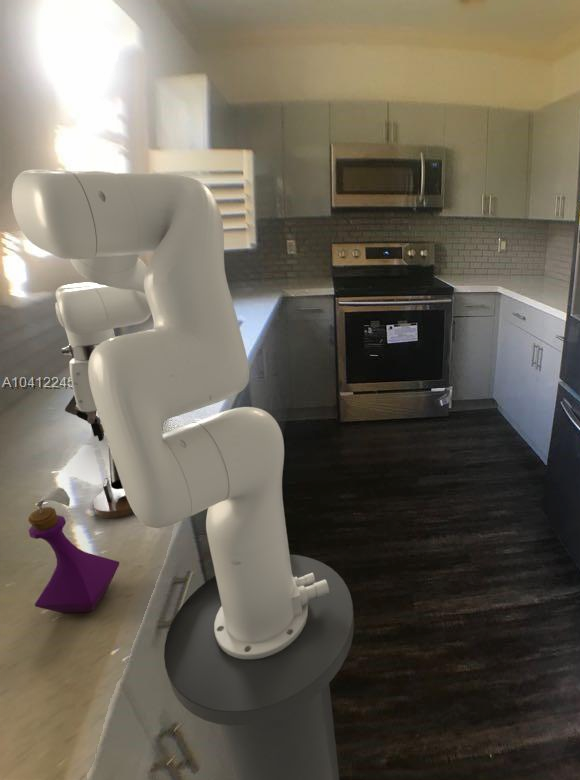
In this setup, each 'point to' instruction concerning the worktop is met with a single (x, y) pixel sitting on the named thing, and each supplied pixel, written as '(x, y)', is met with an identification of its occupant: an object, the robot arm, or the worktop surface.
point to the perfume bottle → (69, 563)
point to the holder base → (111, 502)
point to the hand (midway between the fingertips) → (118, 434)
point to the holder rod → (113, 471)
